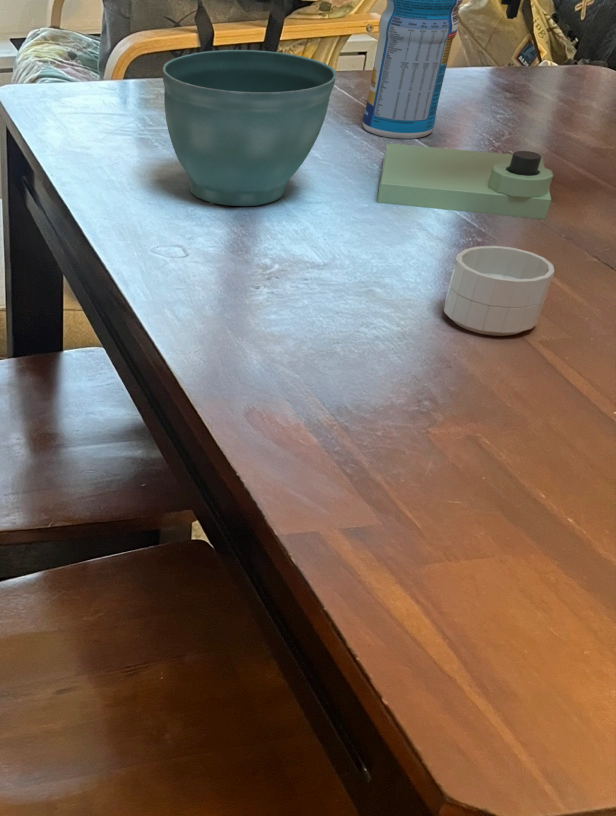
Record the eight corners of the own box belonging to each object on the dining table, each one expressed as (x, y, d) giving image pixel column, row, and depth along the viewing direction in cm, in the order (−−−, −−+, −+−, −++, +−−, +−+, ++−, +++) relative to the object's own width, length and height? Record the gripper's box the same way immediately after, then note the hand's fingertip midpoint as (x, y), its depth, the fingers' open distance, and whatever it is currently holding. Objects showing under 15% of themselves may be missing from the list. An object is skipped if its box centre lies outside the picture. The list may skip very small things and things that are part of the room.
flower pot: (174, 223, 99) (184, 93, 91) (140, 170, 110) (147, 50, 103) (338, 217, 101) (361, 88, 93) (288, 165, 112) (305, 47, 105)
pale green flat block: (536, 176, 111) (547, 140, 109) (545, 221, 101) (557, 182, 98) (382, 162, 114) (390, 126, 111) (376, 204, 104) (384, 166, 101)
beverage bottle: (388, 144, 119) (433, -77, 105) (345, 124, 124) (382, -88, 110) (448, 136, 121) (500, -80, 107) (403, 117, 127) (447, -91, 113)
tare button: (535, 171, 102) (540, 152, 101) (536, 179, 100) (542, 159, 99) (507, 169, 102) (512, 149, 101) (508, 177, 100) (513, 157, 99)
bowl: (532, 308, 86) (550, 251, 83) (537, 344, 81) (557, 285, 78) (442, 297, 87) (456, 241, 84) (442, 333, 82) (457, 274, 79)
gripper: (768, -251, 78) (670, 20, 90) (527, -262, 81) (463, 3, 93) (791, -249, 73) (684, 39, 85) (533, -260, 75) (465, 21, 87)
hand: (569, 20), depth 89 cm, fingers open, 9 cm apart
